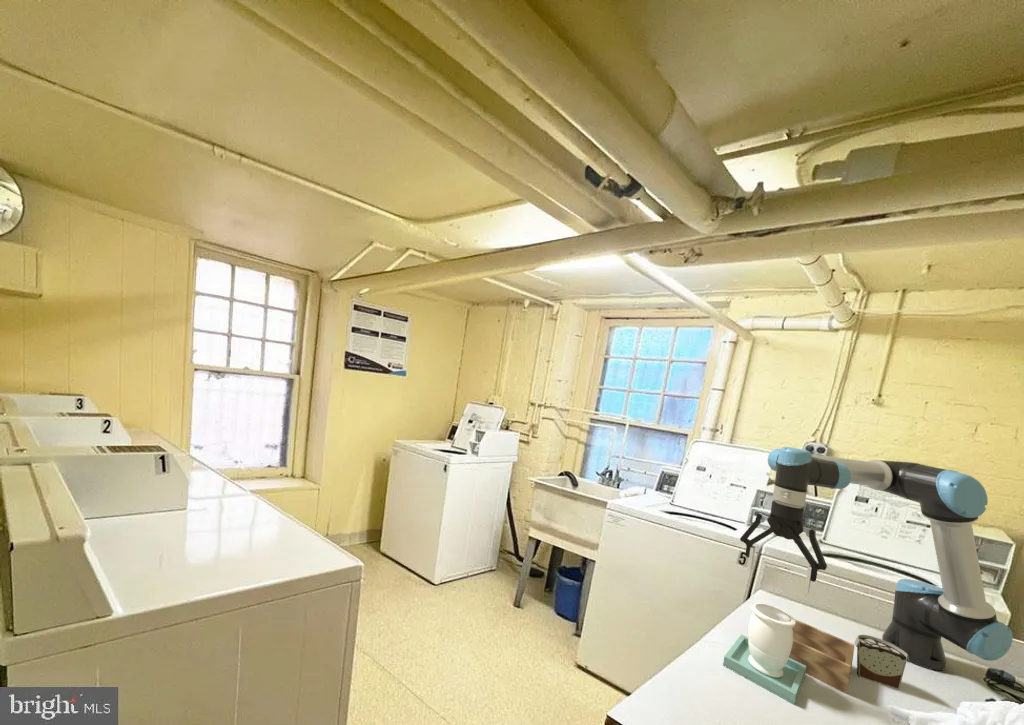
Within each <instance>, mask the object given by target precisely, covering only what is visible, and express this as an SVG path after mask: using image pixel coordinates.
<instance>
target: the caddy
mask: <svg viewBox="0 0 1024 725" xmlns="http://www.w3.org/2000/svg"><path fill="white" fill-rule="evenodd" d="M794 620H795V626H794V627H792V630H793V644H792V649H791V652H790V655H789V658H791V659H793V660H795V661H797V662H799V663H801V664H803V665H805V666H806V673H805V675H807V676H810V677H812V678H814V679H815V680H818V681H819V682H822V683H824V684H825V685H828V686H830V687H832V688H834V689H836V690H838V691H840V692H842V693H844V694H848V689H849V684H850V678H851V672H852V667H853V660H854V651H855V644H854V643H851V642H849V641H847V640H844V639H842V638H840V637H837V636H835V635H832V634H831V633H829V632H826V631H824V630H821V629H819V628H817V627H814V626H812V625H809V624H807V623H805V622H802V621H800V620H799V619H795V618H794Z"/></svg>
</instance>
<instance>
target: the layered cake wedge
mask: <svg viewBox="0 0 1024 725" xmlns="http://www.w3.org/2000/svg"><path fill="white" fill-rule="evenodd" d="M853 644H854V647H856V674H857V677H858V678H861V679H865V680H868V681H871V682H873V683H876V684H880V685H882V686H886V687H889V688H893V689H896V690H900V688H901V683H902V679H903V676H904V672H905V668H906V664H907V663H910V661H909V657H908V654H907V653H906V652H904V651H903V650H901V649H900V648H898V647H896V646H895V645H893V644H891V643H889V642H886V641H884V640H882V638H879V637H876V636H872V635H868V634H859V635H857V637H856V638H855V641H854V643H853Z"/></svg>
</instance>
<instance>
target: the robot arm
mask: <svg viewBox="0 0 1024 725" xmlns="http://www.w3.org/2000/svg"><path fill="white" fill-rule="evenodd" d="M767 456H768V457H767V464H768V467H769V468H770V469H771V470H772V471H774V472H775V478H774V479H775V480H774V486H773V493H772V499H773V500H772V501H771V506H770V514H769V516H767V515H765V514H763V512H759V513H757V514H756V516H755V520H754V521H753V522H752V524H750V526H749V527H748V529H747V530H746V531H744V533H743V534H742V536H740V538H739V539H740V542H741V543H744V544H745V545H746V546H745V547H746V548H745V554H744V555H745V557H746V558H748V561H747V571H748V572H751V571H752V570H754V569H753V568H754V561H755V555H756V547H757V546H754V545H755V544H757V543H758V542H759V541H761V540H763V539H765V538H766V537H768V536H770V535H771V534H774V535H775V536H776V537H780V538H783V539H785V540H788V541H789V540H793V541H794V543H795V544H796V546H797V547H798V549H799V550H800V552H801V554H802V555H803V556H804V558H805V559H806V562H808V564H809V565H808V567H807V572H806V579H805V586H804V587H805V588H804V591H803V592H804V594H806V595H807V594H809V593H810V588H811V582H814V583H815V582H816V581H817V576H818V571H819V570H820V571H821V570H822V571H826V570H827V567H828V565H827V562H826V559H825V557H824V554H823V552H822V549H821V547H820V545H819V541H818V539H817V530H816V529H815V528H813V527H812V528H807V527H804V526H803V519H804V514H805V513H804V512H805V509H804V507H805V505H806V500H807V492H808V487H809V486H813V487H821V488H827V489H831V490H833V489H834V490H837V489H838V490H843V489H846V488H847V487H849V485H850V484H852V485H853V484H854V485H860V486H866V487H867V486H868V487H869V488H870V489H872V490H874V491H880V492H885V493H889V494H892V495H895V496H896V497H897V496H898V497H900V498H903V499H906V500H909V501H911V502H915V503H919V505H920V511H921V515H922V516H924V517H925V518H927V519H928V520H929V522H930V527H931V532H932V538H933V544H934V548H935V549H934V550H935V554H936V559H937V560H936V561H937V565H938V571H939V574H940V575H939V576H940V581H941V586H942V587H940V586H937V585H935V584H930V583H927V582H924V581H921V580H915V579H909V578H908V579H907V578H901V579H898V580H897V584H896V588H895V589H894V591H895V593H894V600H893V608H892V609H893V611H892V618H891V621H890V623H889V624H888V626H887V627H886V629H885V630H884V632H883V633H882V637H881V639H882V640H884V641H886V642H889V643H891V644H893V645H895V646H896V647H898V648H900V649H901V650H903V651H904V652H906V653H907V654H908V657H909V663H910V662H911V663H913V664H915V665H916V666H917V665H918V666H920V667H923V668H926V667H927V669H929V668H931V669H930V670H933V669H936V670H935V671H944V670H943V669H945V668H946V669H947V658H946V657H947V656H946V654H945V651H944V648H943V642H942V638H943V639H944V640H947V641H948V642H950V643H952V644H954V645H956V646H957V647H959V648H961V649H963V650H964V651H966V652H967V653H968V654H971V655H974V656H976V657H977V658H980V659H982V660H985V661H989V662H990V661H991V662H992V661H997V660H999V659H1001V658H1003V657H1004V656H1005V655H1006V654H1007V653H1008V652H1009V650H1010V648H1011V647H1012V646H1013V645H1012V644H1013V638H1014V636H1013V631H1012V629H1011V628H1010V627H1008V625H1006V624H1005V623H1004V622H1001V621H998V617H997V612H996V608H995V607H994V606H993V605H992V604H990V603H989V602H987V599H986V593H985V589H984V583H983V579H982V574H981V567H980V563H979V556H978V550H977V546H976V540H975V533H974V530H973V524H974V523H976V522H977V521H978V520H979V517H980V516H982V515H983V514H984V513H985V512H986V510H987V507H986V506H988V494H987V492H986V489H985V487H984V486H983V485H982V483H981V482H980V481H979V480H978V479H976V478H974V477H973V476H972V475H969V474H966V473H962V472H959V471H957V470H953V469H952V470H951V469H945V468H940V467H935V466H930V465H925V464H920V463H917V462H912V461H911V462H910V461H896V460H895V461H894V460H881V459H870V460H868V461H865V460H860V459H859V460H858V459H852V458H851V459H850V458H843V457H837V456H836V457H835V456H827V455H821V454H815V453H814V454H813V453H812V452H811V451H809V450H806V449H805V450H804V449H800V448H797V447H792V446H791V447H790V446H782V447H780V448H775V449H773V450H771V451H770V453H768V455H767ZM765 522H767V523H768V526H769V528H768V529H766V530H765V531H762V532H761V533H760V534H758V535H756V536H755V537H753V538H751V539H749V537H750V536H751V535H752V533H754V532H755V530H756V529H757V528H758V527H759V526H760V524H761V523H765ZM802 533H805V535H806V536H805V537H808V539H809V542H810V544H811V548H812V549H813V553H814V554H815V558H816V560H817V561H816V560H815V558H814V556H813V555H812V554H811V552H810V550H809V549H808V547H807V546H806V544H805V543H804V542H803V538H801V536H800V534H802ZM946 669H945V670H946Z"/></svg>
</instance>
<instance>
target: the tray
mask: <svg viewBox="0 0 1024 725" xmlns="http://www.w3.org/2000/svg"><path fill="white" fill-rule="evenodd" d="M748 639H749V637H748V636H745V635H744V634H740V635H739V637H738V638H737V639H736V640H735V642H734V643H733V645H732V646H731V647H730V648H729V649H728V651H727V652H726V653H725V655H724V658H723V663H722V666H723V665H724V666H723V667H725V666H726V667H725V668H727V669H728V668H729V669H728V670H730V669H731V670H730V671H732V670H733V671H732V672H734V671H735V672H734V673H736V674H738V675H739V676H741V677H743V678H745V679H747V680H748V681H751V682H752V683H754V684H755V685H757V686H759V687H762V688H763V689H765V690H766V691H769V692H770V693H772V694H773V695H776V696H777V697H780V698H782V699H783V700H785V701H787V702H788V703H791V704H793V705H795V704H796V701H797V699H798V695H799V693H800V690H801V687H802V684H803V682H804V679H805V676H806V666H805V665H803V664H801V663H799V662H797V661H795V660H793V659H791V658H788V661H787V663H786V665H785V666H784V667H783V668H782V670H783V676H782V677H780V678H775V677H771V676H768V675H765V674H763V673H761V672H760V671H758V670H757V669H755V668H754V667H753V666H752V665H751V664H750V662H749V660H748V657H749V656H750V655H751V654H750V650H749V644H748Z"/></svg>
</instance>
